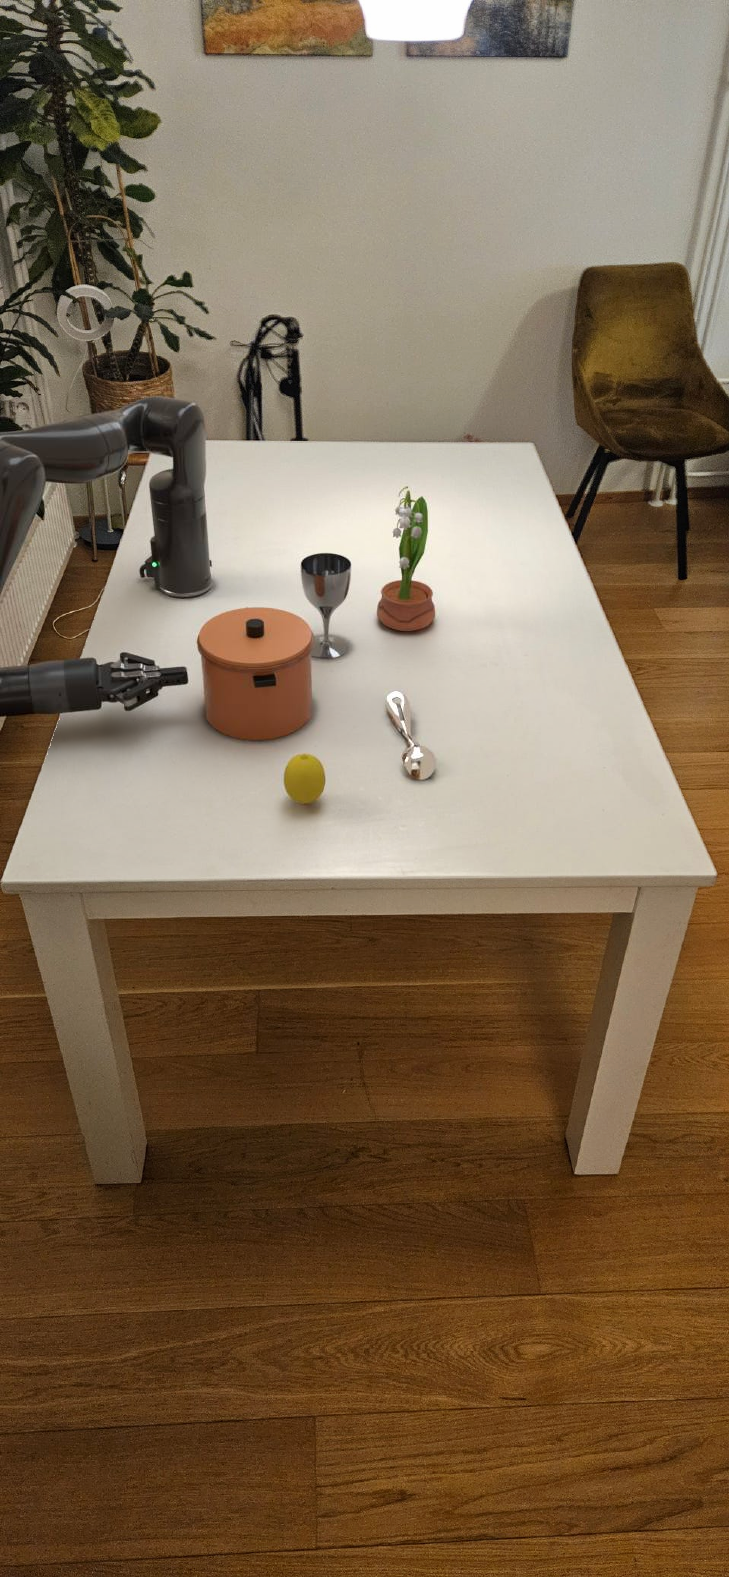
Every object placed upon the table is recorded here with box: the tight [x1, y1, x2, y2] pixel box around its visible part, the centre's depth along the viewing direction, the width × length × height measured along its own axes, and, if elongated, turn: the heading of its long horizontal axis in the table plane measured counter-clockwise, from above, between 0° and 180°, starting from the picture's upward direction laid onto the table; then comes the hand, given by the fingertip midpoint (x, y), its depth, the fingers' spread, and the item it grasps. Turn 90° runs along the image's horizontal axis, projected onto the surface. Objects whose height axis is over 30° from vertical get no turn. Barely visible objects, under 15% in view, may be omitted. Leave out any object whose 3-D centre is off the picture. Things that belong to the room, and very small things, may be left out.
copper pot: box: [196, 606, 315, 741], centre depth 161 cm, size 17×19×15 cm
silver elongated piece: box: [385, 691, 437, 781], centre depth 159 cm, size 20×4×5 cm
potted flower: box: [376, 485, 436, 632], centre depth 180 cm, size 12×10×25 cm
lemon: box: [283, 753, 326, 805], centre depth 146 cm, size 6×6×8 cm
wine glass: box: [300, 552, 352, 660], centre depth 176 cm, size 8×8×15 cm
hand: (187, 675), depth 160 cm, fingers closed
